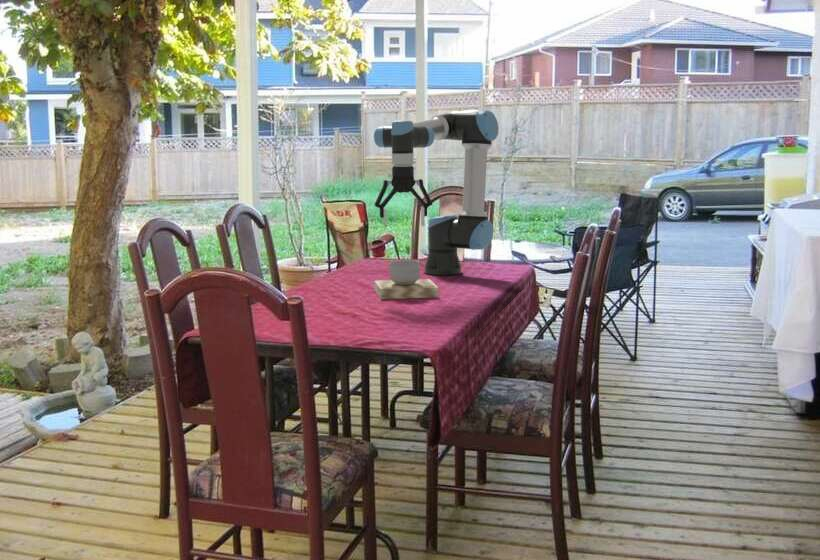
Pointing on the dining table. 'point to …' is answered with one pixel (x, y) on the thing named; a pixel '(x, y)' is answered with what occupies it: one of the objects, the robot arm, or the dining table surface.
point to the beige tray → (406, 289)
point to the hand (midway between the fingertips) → (403, 226)
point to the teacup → (404, 271)
